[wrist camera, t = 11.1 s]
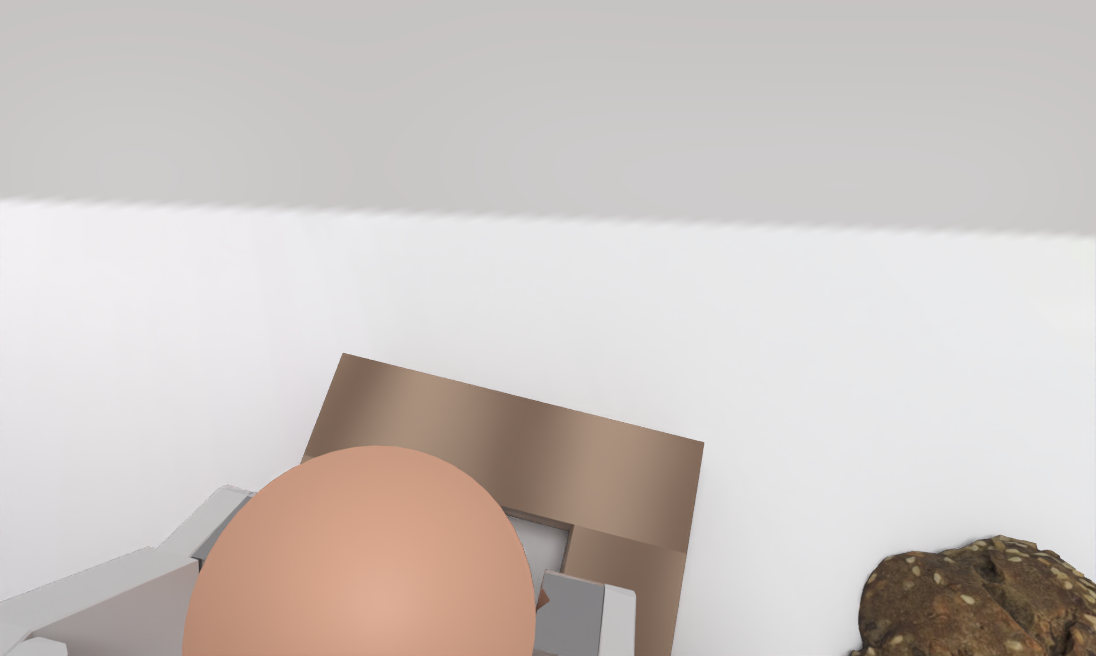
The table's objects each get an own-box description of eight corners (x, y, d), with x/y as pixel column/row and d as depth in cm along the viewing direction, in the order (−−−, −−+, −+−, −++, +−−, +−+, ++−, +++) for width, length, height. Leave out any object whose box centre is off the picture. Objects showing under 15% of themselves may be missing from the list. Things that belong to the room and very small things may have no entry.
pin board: (223, 750, 23) (181, 774, 20) (361, 375, 28) (342, 352, 25) (617, 864, 22) (630, 905, 19) (685, 457, 27) (704, 442, 24)
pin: (331, 674, 14) (117, 771, 7) (390, 493, 16) (265, 411, 8) (507, 723, 14) (482, 878, 7) (550, 534, 16) (570, 489, 8)
